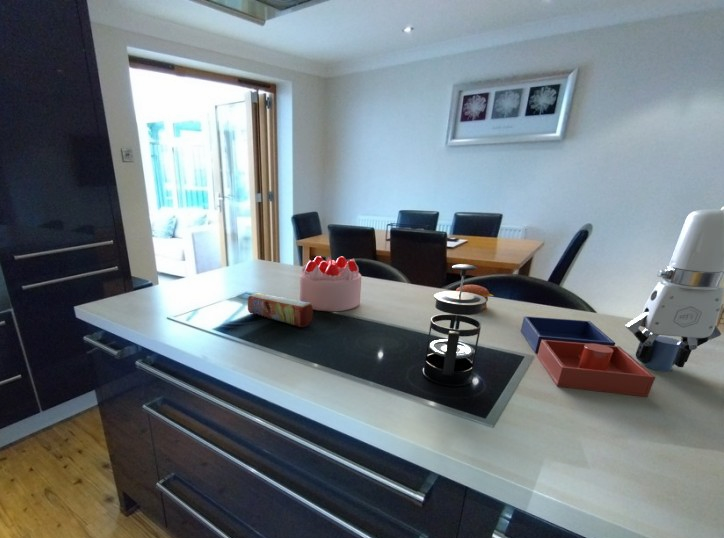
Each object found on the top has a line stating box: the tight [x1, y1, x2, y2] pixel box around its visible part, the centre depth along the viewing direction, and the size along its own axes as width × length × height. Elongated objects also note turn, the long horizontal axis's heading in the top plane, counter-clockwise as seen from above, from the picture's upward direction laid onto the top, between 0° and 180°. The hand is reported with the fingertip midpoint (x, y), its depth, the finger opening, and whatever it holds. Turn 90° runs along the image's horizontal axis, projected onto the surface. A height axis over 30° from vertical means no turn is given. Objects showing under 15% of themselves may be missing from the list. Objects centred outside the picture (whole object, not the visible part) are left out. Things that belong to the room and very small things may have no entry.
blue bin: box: [520, 315, 616, 354], centre depth 92 cm, size 14×14×4 cm
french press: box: [422, 263, 487, 388], centre depth 75 cm, size 12×9×23 cm
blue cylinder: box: [643, 335, 682, 372], centre depth 82 cm, size 9×4×6 cm, turn 161°
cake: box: [299, 255, 362, 312], centre depth 125 cm, size 20×20×14 cm
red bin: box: [537, 340, 656, 398], centre depth 78 cm, size 14×14×4 cm
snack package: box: [247, 292, 314, 328], centre depth 113 cm, size 21×7×7 cm, turn 48°
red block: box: [577, 343, 613, 371], centre depth 78 cm, size 9×4×6 cm, turn 161°
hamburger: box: [455, 284, 495, 311], centre depth 120 cm, size 9×10×7 cm
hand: (658, 362), depth 81 cm, fingers open, 5 cm apart
